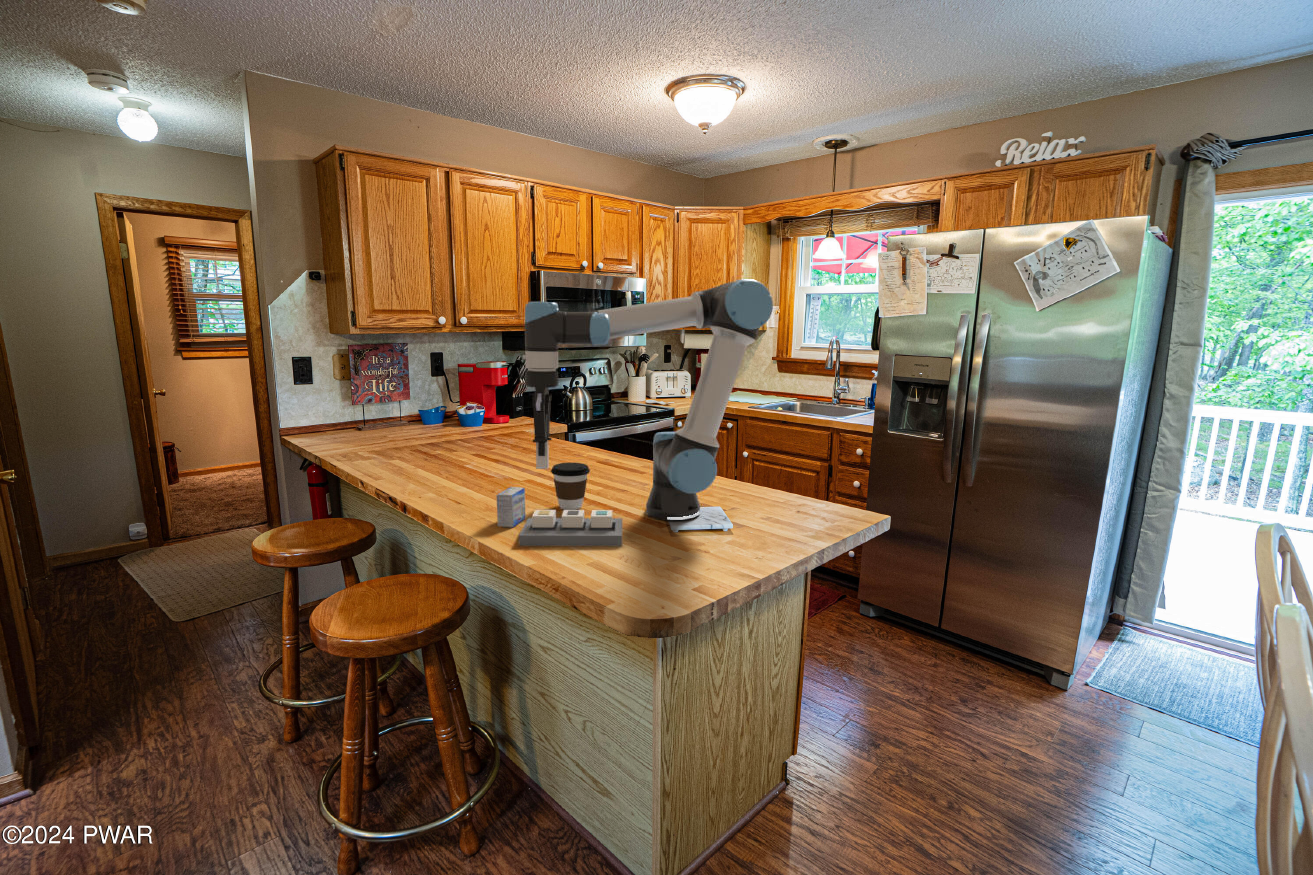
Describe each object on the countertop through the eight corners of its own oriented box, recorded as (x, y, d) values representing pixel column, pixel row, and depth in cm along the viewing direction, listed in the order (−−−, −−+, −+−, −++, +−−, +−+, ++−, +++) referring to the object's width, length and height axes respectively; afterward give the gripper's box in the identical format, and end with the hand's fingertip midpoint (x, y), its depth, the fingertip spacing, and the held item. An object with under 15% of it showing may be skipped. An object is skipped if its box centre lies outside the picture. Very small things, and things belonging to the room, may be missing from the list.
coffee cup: (597, 505, 171) (597, 465, 169) (572, 515, 162) (572, 472, 160) (568, 499, 177) (568, 460, 175) (543, 508, 168) (542, 467, 166)
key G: (555, 520, 147) (555, 509, 147) (553, 527, 142) (553, 515, 142) (535, 520, 147) (535, 509, 147) (532, 527, 142) (532, 515, 142)
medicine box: (513, 528, 151) (512, 495, 149) (497, 526, 152) (496, 494, 150) (526, 518, 159) (525, 487, 157) (510, 517, 159) (509, 486, 158)
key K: (584, 520, 148) (584, 509, 147) (582, 527, 143) (582, 515, 142) (564, 520, 147) (563, 509, 147) (561, 527, 143) (561, 515, 142)
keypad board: (622, 527, 153) (622, 518, 152) (621, 546, 140) (621, 535, 139) (528, 527, 152) (528, 517, 151) (519, 545, 139) (518, 535, 138)
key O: (612, 520, 148) (612, 509, 147) (611, 527, 143) (611, 515, 143) (592, 520, 148) (592, 509, 147) (590, 527, 143) (590, 515, 142)
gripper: (530, 367, 144) (531, 462, 148) (520, 371, 131) (521, 474, 136) (561, 368, 145) (561, 462, 149) (554, 372, 132) (554, 475, 136)
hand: (542, 468), depth 142 cm, fingers closed
